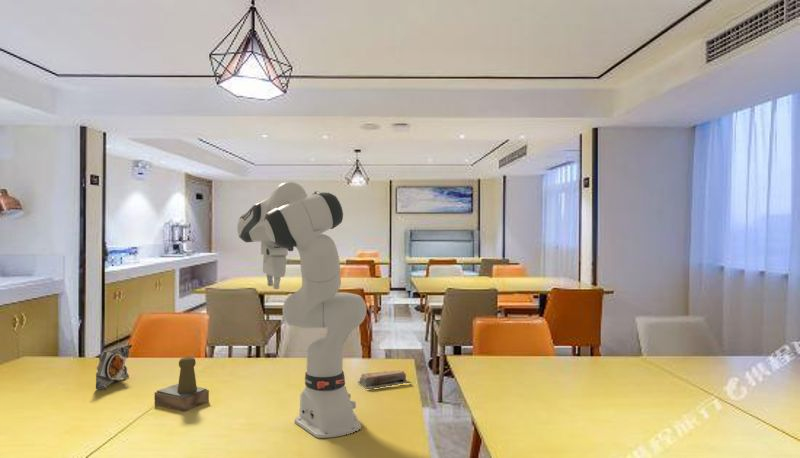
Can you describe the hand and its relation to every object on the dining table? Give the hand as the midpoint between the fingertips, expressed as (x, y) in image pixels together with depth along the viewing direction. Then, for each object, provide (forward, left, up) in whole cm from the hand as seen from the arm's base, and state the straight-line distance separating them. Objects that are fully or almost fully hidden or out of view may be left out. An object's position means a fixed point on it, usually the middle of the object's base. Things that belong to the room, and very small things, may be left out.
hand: (273, 287), depth 183 cm
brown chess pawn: (-3, +29, -33) cm, 44 cm away
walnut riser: (-2, +31, -37) cm, 48 cm away
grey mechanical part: (+32, +52, -37) cm, 72 cm away
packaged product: (-13, -39, -38) cm, 56 cm away
